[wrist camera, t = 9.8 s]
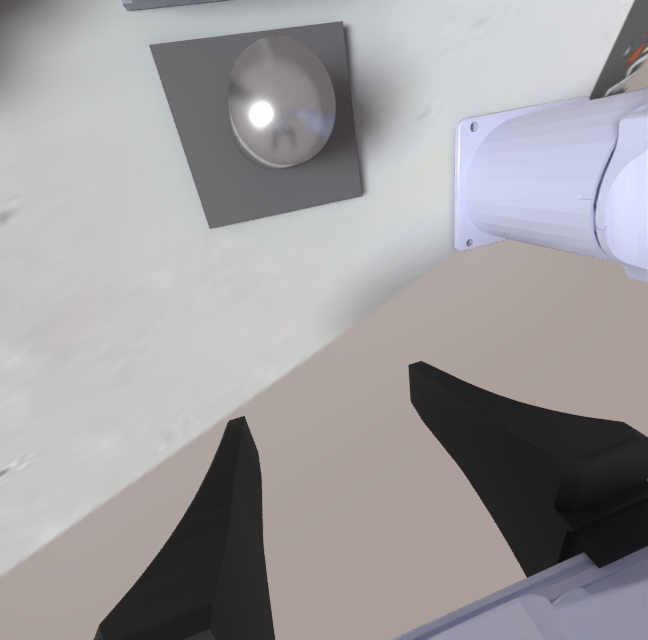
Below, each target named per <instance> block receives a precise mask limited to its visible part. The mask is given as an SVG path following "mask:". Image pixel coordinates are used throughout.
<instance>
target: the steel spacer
mask: <svg viewBox="0 0 648 640" xmlns="http://www.w3.org/2000/svg"><path fill="white" fill-rule="evenodd" d="M228 103H229V113H230V124H231V131H232V135H233V138H234V140H235V143H236V145H237V147H238V148H239V150H240V151H241V153H242V154H243V155H244V156H245V157H246V158H247V159H248V160H249V161H250V162H252V163H253V164H255V165H257V166H258V167H261V168H264V169H268V170H279V169H284V168H287V167H290V166H293V165H296V164H299V163H302V162H305V161H307V160H309V159H310V158H312V157H313V156H315V155H316V154H317V153H318V152H319V151H320V150H321V149H322V148H323V146H324V145H325V144H326V142H327V140H328V138H329V136H330V134H331V132H332V128H333V125H334V120H335V112H336V101H335V93H334V89H333V85H332V82H331V79H330V76H329V74H328V72H327V70H326V68H325V67H324V65H323V64H322V62H321V61H320V59H319V58H318V57H317V56H316V55H315V54H314V53H313V52H312V51H311V50H310V49H309V48H308V47H306V46H305V45H304V44H302V43H300V42H298V41H296V40H294V39H291V38H287V37H282V36H271V37H266V38H262V39H259V40H258V41H256V42H254V43H252V44H251V45H250V46H248V47H247V48H246V49H245V50H244V51H243V52H242V53H241V55H240V56H239V57H238V59H237V61H236V63H235V65H234V67H233V69H232V72H231V75H230V80H229V87H228Z"/></svg>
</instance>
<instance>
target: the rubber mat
mask: <svg viewBox="0 0 648 640" xmlns="http://www.w3.org/2000/svg"><path fill="white" fill-rule="evenodd" d="M271 36H282V37H287V38H291V39H294V40H296V41H298V42H300V43H302V44H304V45H305V46H306V47H308V48H309V49H310V50H311V51H312V52H313V53H314V54H315V55H316V56H317V57H318V58H319V59H320V61H321V62H322V64H323V65H324V67H325V68H326V70H327V72H328V74H329V76H330V79H331V82H332V85H333V89H334V93H335V101H336V112H335V120H334V125H333V128H332V132H331V134H330V136H329V138H328V140H327V142H326V144H325V145H324V146H323V148H322V149H321V150H320V151H319V152H318V153H317V154H316V155H315V156H313V157H312V158H310V159H309V160H307V161H305V162H302V163H299V164H296V165H293V166H290V167H287V168H284V169H279V170H268V169H264V168H261V167H258V166H257V165H255V164H253V163H252V162H250V161H249V160H248V159H247V158H246V157H245V156H244V155H243V154H242V153H241V151H240V150H239V148H238V147H237V145H236V143H235V140H234V138H233V135H232V131H231V124H230V113H229V103H228V87H229V80H230V75H231V72H232V69H233V67H234V65H235V63H236V61H237V59H238V57H239V56H240V55H241V53H242V52H243V51H244V50H245V49H246V48H247V47H248V46H250V45H251V44H252V43H254V42H256V41H258V40H259V39H262V38H266V37H271ZM149 46H150V49H151V52H152V55H153V58H154V61H155V64H156V67H157V70H158V73H159V76H160V79H161V82H162V85H163V88H164V91H165V94H166V97H167V100H168V103H169V106H170V109H171V112H172V115H173V119H174V122H175V125H176V128H177V131H178V134H179V137H180V140H181V143H182V146H183V149H184V152H185V155H186V158H187V161H188V164H189V167H190V170H191V173H192V176H193V179H194V182H195V185H196V188H197V191H198V194H199V197H200V200H201V203H202V206H203V209H204V212H205V216H206V219H207V222H208V225H209V228H210V229H211V228H216V227H221V226H225V225H230V224H235V223H239V222H244V221H249V220H253V219H258V218H263V217H267V216H272V215H277V214H281V213H286V212H291V211H295V210H300V209H305V208H309V207H314V206H319V205H323V204H328V203H332V202H337V201H342V200H346V199H351V198H356V197H360V196H362V193H361V184H360V175H359V166H358V156H357V147H356V138H355V129H354V120H353V111H352V102H351V93H350V84H349V75H348V66H347V57H346V48H345V38H344V29H343V21H341V22H333V23H325V24H317V25H309V26H301V27H292V28H284V29H276V30H268V31H260V32H252V33H243V34H235V35H227V36H219V37H211V38H203V39H194V40H186V41H178V42H170V43H162V44H154V45H149Z"/></svg>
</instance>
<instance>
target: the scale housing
mask: <svg viewBox="0 0 648 640" xmlns="http://www.w3.org/2000/svg"><path fill="white" fill-rule="evenodd" d="M215 1H225V0H122V3H123V5H124V7H125V8H126V10H127V11H130V10H139V9H149V8H158V7H168V6H177V5H187V4H196V3H206V2H215Z"/></svg>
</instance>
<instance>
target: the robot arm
mask: <svg viewBox="0 0 648 640" xmlns="http://www.w3.org/2000/svg"><path fill="white" fill-rule="evenodd" d="M471 124H473V126H474V128H473V131H471V129H470V126H471ZM508 239H511V240H516V241H520V242H524V243H529V244H534V245H539V246H543V247H547V248H552V249H557V250H561V251H566V252H571V253H575V254H580V255H585V256H589V257H594V258H598V259H603V260H607V261H612V262H618V263H620V264H621V265H622V266H623V267H624V268H625V271H626V276H627V278H632V279H636V280H640V281H644V282H647V283H648V88H643V89H639V90H635V91H630V92H626V93H621V94H617V95H612V96H608V97H603V98H599V99H594V100H590V99H589V98H588V97H581V98H576V99H570V100H565V101H559V102H554V103H549V104H543V105H538V106H532V107H527V108H521V109H516V110H511V111H505V112H500V113H494V114H489V115H484V116H478V117H473V118H467V119H463V120H461V121H460V122H459V123H458V124H457V126H456V143H455V208H454V248H455V249H456V250H458V251H465V250H469V249H473V248H477V247H481V246H485V245H488V244H493V243H497V242H500V241H504V240H508ZM468 240H469V243H468V245H467V244H466V243H467V241H468ZM409 381H410V397H411V402H412V404H413V406H414V407H415V409H416V411H417V412H418V414H419V416H420V417H421V419H422V420H423V422H424V423H425V424H426V426H427V427H428V428H429V429H430V431H431V432H432V433H433V434H434V436H435V437H436V438H437V439H438V440H439V442H440V443H441V444H442V446H443V447H444V448H445V449H446V451H447V452H448V453H449V454H450V455H451V457H452V458H453V459H454V460H455V462H456V463H457V464H458V466H459V467H460V468H461V470H462V471H463V473H464V474H465V476H466V477H467V479H468V480H469V482H470V483H471V485H472V486H473V488H474V489H475V491H476V492H477V494H478V495H479V497H480V499H481V500H482V502H483V503H484V505H485V507H486V508H487V510H488V511H489V513H490V514H491V516H492V518H493V519H494V521H495V523H496V524H497V526H498V528H499V529H500V531H501V533H502V534H503V536H504V538H505V540H506V541H507V543H508V545H509V546H510V548H511V550H512V552H513V553H514V555H515V557H516V559H517V561H518V562H519V564H520V566H521V568H522V569H523V571H524V573H525V575H526V577H527V578H526V579H524V580H522V581H519V582H517V583H515V584H513V585H510V586H508V587H506V588H504V589H502V590H499V591H497V592H495V593H493V594H491V595H488V596H486V597H484V598H482V599H480V600H478V601H475V602H473V603H471V604H469V605H466V606H464V607H462V608H460V609H457V610H455V611H453V612H451V613H449V614H446V615H444V616H442V617H440V618H438V619H435V620H433V621H431V622H429V623H427V624H424V625H422V626H420V627H418V628H416V629H413V630H411V631H409V632H407V633H404V634H402V635H400V636H398V637H396V638H393V639H391V640H648V481H647V479H648V437H647V436H645V435H643V434H642V433H640V432H639V431H637V430H636V429H634V428H632V427H631V426H629V425H628V424H626V423H624V422H619V421H611V420H604V419H597V418H590V417H583V416H578V415H572V414H567V413H562V412H558V411H553V410H549V409H545V408H541V407H537V406H533V405H529V404H526V403H522V402H518V401H515V400H512V399H509V398H506V397H503V396H500V395H497V394H494V393H492V392H489V391H487V390H484V389H481V388H479V387H477V386H474V385H472V384H470V383H467V382H465V381H462V380H461V379H458V378H456V377H454V376H452V375H450V374H448V373H446V372H444V371H441V370H439V369H437V368H435V367H433V366H431V365H429V364H427V363H424V362H422V361H420V362H417V363H414V364H410V365H409ZM262 520H263V519H262V480H261V469H260V462H259V455H258V450H257V448H256V445H255V442H254V440H253V437H252V435H251V433H250V429H249V427H248V424H247V422H246V419H245V416H243V417H240V418H236V419H233V420H230V421H229V422H228V423H227V426H226V429H225V432H224V434H223V437H222V440H221V442H220V445H219V447H218V450H217V452H216V454H215V457H214V459H213V461H212V463H211V466H210V468H209V470H208V472H207V474H206V476H205V478H204V480H203V482H202V484H201V486H200V488H199V490H198V492H197V494H196V495H195V497H194V499H193V501H192V503H191V504H190V506H189V508H188V509H187V511H186V513H185V514H184V516H183V518H182V519H181V521H180V522H179V524H178V525H177V527H176V529H175V530H174V532H173V533H172V535H171V536H170V538H169V539H168V541H167V542H166V543H165V545H164V546H163V548H162V549H161V551H160V552H159V553H158V555H157V556H156V557H155V559H154V560H153V561H152V562H151V564H150V565H149V566H148V568H147V569H146V570H145V572H144V573H143V574H142V576H141V577H140V578H139V579H138V581H137V582H136V583H135V584H134V585H133V587H132V588H131V589H130V590H129V591H128V593H127V594H126V595H125V596H124V597H123V598H122V599H121V601H120V602H119V603H118V604H117V605H116V606H115V607H114V609H113V610H112V611H111V612H110V613H109V614H108V616H107V617H106V618H105V619H104V620H103V621H102V622H101V623H100V625H99V628H98V630H97V633H96V635H95V638H94V640H275V635H274V628H273V621H272V612H271V605H270V597H269V589H268V582H267V574H266V573H267V572H266V564H265V555H264V545H263V521H262Z"/></svg>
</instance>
